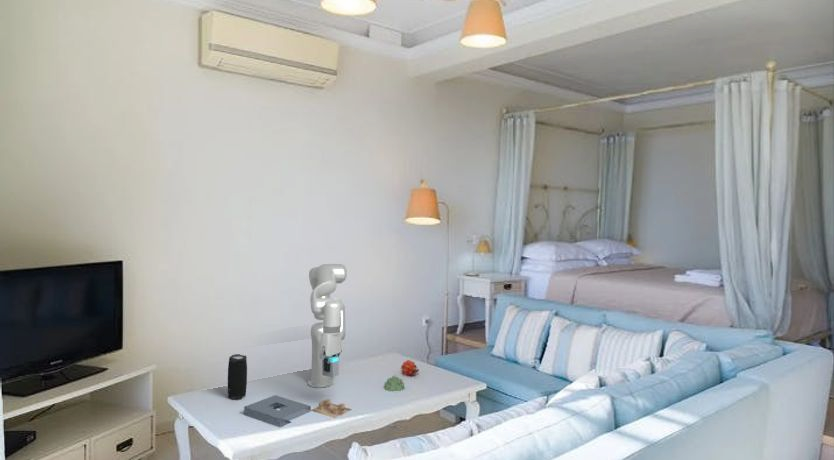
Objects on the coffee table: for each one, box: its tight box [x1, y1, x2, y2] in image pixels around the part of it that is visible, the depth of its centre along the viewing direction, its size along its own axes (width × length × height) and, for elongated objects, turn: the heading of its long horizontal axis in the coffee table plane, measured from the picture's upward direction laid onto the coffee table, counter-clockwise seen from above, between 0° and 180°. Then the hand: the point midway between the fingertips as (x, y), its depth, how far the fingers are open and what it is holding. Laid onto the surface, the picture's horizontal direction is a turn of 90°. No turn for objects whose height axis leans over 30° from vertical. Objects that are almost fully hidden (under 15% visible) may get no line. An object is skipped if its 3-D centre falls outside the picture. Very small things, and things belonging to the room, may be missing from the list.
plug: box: [322, 356, 340, 378], centre depth 242 cm, size 4×6×8 cm, turn 59°
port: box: [243, 394, 312, 428], centre depth 238 cm, size 18×22×4 cm
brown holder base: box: [311, 398, 353, 419], centre depth 243 cm, size 12×14×4 cm
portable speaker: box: [227, 353, 248, 401], centre depth 256 cm, size 9×9×20 cm
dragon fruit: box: [400, 359, 420, 378], centre depth 299 cm, size 8×8×12 cm
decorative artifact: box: [383, 374, 405, 393], centre depth 277 cm, size 10×7×10 cm
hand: (330, 369), depth 242 cm, fingers closed on plug, 4 cm apart
